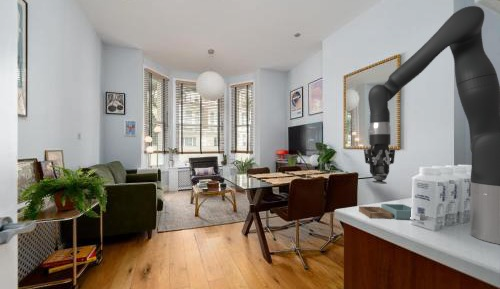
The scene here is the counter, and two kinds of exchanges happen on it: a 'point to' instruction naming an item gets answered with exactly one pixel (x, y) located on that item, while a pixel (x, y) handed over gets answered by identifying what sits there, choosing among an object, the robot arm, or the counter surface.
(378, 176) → the salt shaker
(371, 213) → the walnut socket
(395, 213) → the teal tray
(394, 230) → the counter surface
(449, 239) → the counter surface
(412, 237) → the counter surface
